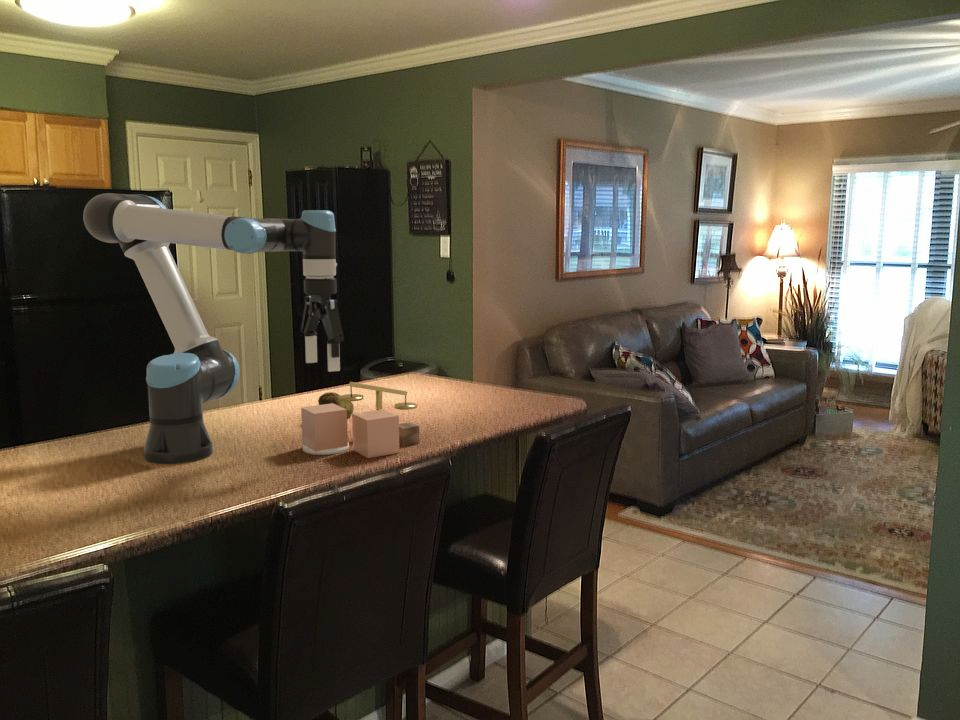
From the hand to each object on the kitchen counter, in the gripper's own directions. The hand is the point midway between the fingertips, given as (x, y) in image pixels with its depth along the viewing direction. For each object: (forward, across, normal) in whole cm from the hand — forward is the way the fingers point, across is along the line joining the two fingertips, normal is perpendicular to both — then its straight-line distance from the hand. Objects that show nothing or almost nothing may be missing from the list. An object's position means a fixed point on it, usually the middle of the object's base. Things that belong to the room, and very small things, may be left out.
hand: (322, 366), depth 192 cm
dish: (+20, 0, 0) cm, 20 cm away
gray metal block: (+20, -6, -19) cm, 29 cm away
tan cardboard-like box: (+20, -9, -9) cm, 24 cm away
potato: (+20, +27, -15) cm, 37 cm away
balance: (+20, +5, -17) cm, 27 cm away
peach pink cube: (+19, 0, 0) cm, 19 cm away
